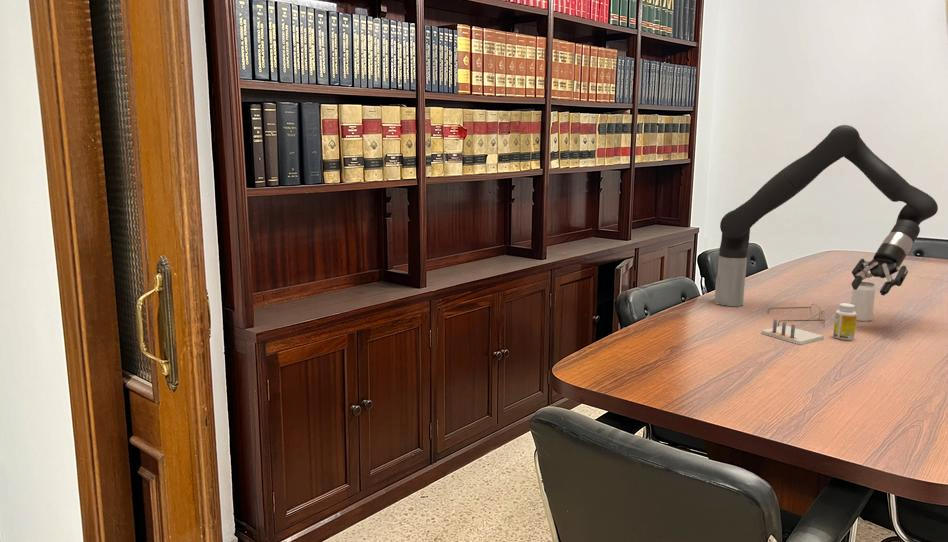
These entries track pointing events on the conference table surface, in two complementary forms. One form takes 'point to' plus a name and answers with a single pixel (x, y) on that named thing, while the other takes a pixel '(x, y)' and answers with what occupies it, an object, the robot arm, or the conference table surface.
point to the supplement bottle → (845, 322)
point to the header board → (791, 334)
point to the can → (863, 301)
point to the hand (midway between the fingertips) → (867, 290)
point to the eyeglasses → (802, 320)
